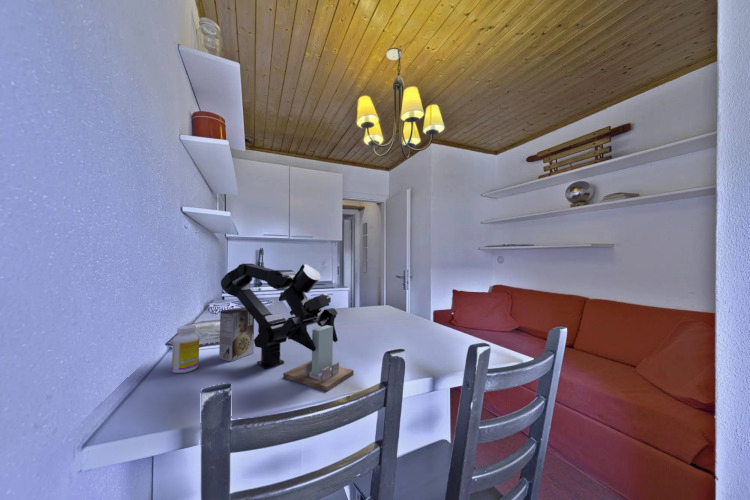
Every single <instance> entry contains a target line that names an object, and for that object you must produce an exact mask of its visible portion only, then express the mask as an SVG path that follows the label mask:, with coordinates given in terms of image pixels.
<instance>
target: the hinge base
mask: <svg viewBox="0 0 750 500" xmlns="http://www.w3.org/2000/svg"><path fill="white" fill-rule="evenodd" d="M311 371H312V359H311V360H309V361H307V362H305V363H303V364H300V365H298V366H296V367H294V368H292V369H289V370H287V371H285V372H283V377H282V378H285V379H287V380H290V381H293V382H297V383H300V384H302V385H305V386H308V387H312V388H314V389H318V390H321V391H323V392H328V391H330V390H331V389H333V388H335V387H336V386H338V385H340V384H341V383H342V382H344V381H346V380H347V379H349V378H350V377H352V376H353V375H354V374H355V373H354V369H350V368H347V367H343V366H340V362H339V361H336V362H334V363H332V367H331V374H330V367H326V368H324V369H323V370H322V380H318V379H315V378H312V377H309V372H311Z"/></svg>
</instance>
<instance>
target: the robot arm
mask: <svg viewBox="0 0 750 500" xmlns="http://www.w3.org/2000/svg"><path fill="white" fill-rule="evenodd" d="M253 278H254V279H256V280H261V281H263V282H266V283H267V285H268V286H269V287H271V288H272V289H275V290H281V289H282V290H283V289H284V290H283V291H281V292H280V293H279V294H280V295H279V297H278V301H279V302H284V301H286V303H287V305H288V307H289V308H290V311H289V315H290V316H291V317H288V318H287V319H286V318H285V317H284V316H283V314H281V313H280V312H278V313H271V311H270V310H269V309H268V308H267V306H266V305H265V304H264V303H263V302H262V301H261V299H260V298H258V296H257V295H256V294H255V293H254V292H253V291H252V289H251V282H252V281H253ZM320 279H321V274H320V272H319V271H318V270H316V269H315V268H313V267H311V266H309V264H303V263H302V265H300V268H299V270H297V272H296V271H294V270H291V269H272V268H269V267H265V266H264V267H263V266H262V265H261V266H260V265H257V264H254V263H241V264H239V265H237V267H236V268H234V269H232V270H230V271H228V272H227V273H226V274H225V275H224V276H223V277H222V279H221V280H220V286H221V289H222V290H223V291H224V292H225V293H226V294H228V295H229V296H232V297H235V298H237V300H238V301H240V303H241V304H242V306H243V307H245V308H246V309H247V310H248V312H249V313H250V314H251V315H252V317H253V318H254V321H255V322H256V323H257V325H258V328H257V329H258V331H257V333H258V334H257V335H256V337H254V348H255V347H256V348H259V349H260V355H261V357H260V360H258V361H256V364H257V365H258V366H260V367H262V368H264V369H269V368H272V367H275V366H279V365H283V364H285V361H284V360H283V359H281V344H282V343H286V342H287V339H288V340H291V341H293V342H296V343H298V344H300V345H301V346H304V347H305V348H307V349H308V350H310V351H311V352H312V351H315V350H316V347H315V345H314V343H313V341H312V336H310V334H309V332H308V326H310V325H313V324H317V326H320V327H323V326H326V325H328V326H333V342H334V343H337V342H338V336H337V331H336V327H335V320H336V318H337V315H338V312H337V310H336V308H334V307H330V308H325V307H328V306H330V303H331V301H332V298H331V297H330V295H329V294H328V293H326V292H324V293H322V294H319V295H316V296H315V297H311V298H310V297H309V298H308V296H307V295H306V294H307V293H310V292H311V290H312V289H313V288H314V287H315V286H316V284H317V283H318V281H320ZM305 293H306V294H305ZM322 308H325V309H323V311H322Z"/></svg>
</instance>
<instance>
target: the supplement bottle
mask: <svg viewBox="0 0 750 500" xmlns="http://www.w3.org/2000/svg"><path fill="white" fill-rule="evenodd" d="M196 330H197V325H195V324H189V325H188V324H187V325H181V326H178V327H177V329H176V332H177V335H176V336H174V338H173V340H172V355H171V371H172V373H174V374H184V373H185V374H186V373H188V372H192V371H194V370H196V369H197V368H199V363H200V361H199V360H200V334H198V333H196Z"/></svg>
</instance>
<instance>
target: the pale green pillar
mask: <svg viewBox="0 0 750 500" xmlns="http://www.w3.org/2000/svg"><path fill="white" fill-rule="evenodd" d="M311 331H312V334H311V335H312V336H311V339H312V341H313V343H314V345H315V347H316V350H315V351H312V350H311V360H312V371H311V372H309V377H312V378H315V379H318V380H322V370H323V369H324V368H326V367H330V374H331V367H332V364H333V356H334V355H333V349H334V348H333V347H334V346H333V345H334V344H333V342H334V341H333V326H328V325H326V326H323V327H321V326H320V327H316V328H314V329H312V330H311Z"/></svg>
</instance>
